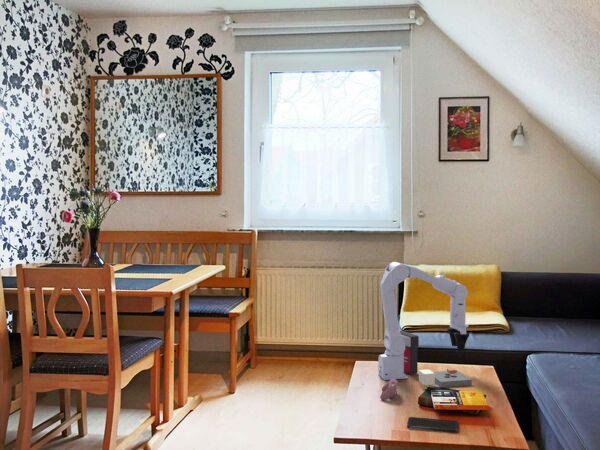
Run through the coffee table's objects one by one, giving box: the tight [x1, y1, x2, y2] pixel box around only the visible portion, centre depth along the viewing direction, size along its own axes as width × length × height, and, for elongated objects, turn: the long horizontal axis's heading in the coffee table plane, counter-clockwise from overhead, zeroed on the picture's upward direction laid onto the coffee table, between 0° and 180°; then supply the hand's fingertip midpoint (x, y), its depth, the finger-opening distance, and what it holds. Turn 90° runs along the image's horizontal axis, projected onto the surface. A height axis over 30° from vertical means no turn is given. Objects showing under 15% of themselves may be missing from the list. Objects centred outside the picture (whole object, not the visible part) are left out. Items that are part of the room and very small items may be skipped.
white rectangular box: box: [418, 368, 436, 390], centre depth 210 cm, size 4×5×6 cm
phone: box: [406, 416, 460, 434], centre depth 175 cm, size 8×1×15 cm
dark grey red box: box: [399, 330, 420, 376], centre depth 231 cm, size 11×4×15 cm, turn 25°
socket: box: [432, 368, 472, 388], centre depth 217 cm, size 12×12×3 cm
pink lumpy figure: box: [379, 378, 399, 401], centre depth 202 cm, size 10×5×7 cm, turn 169°
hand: (457, 348), depth 226 cm, fingers open, 7 cm apart
